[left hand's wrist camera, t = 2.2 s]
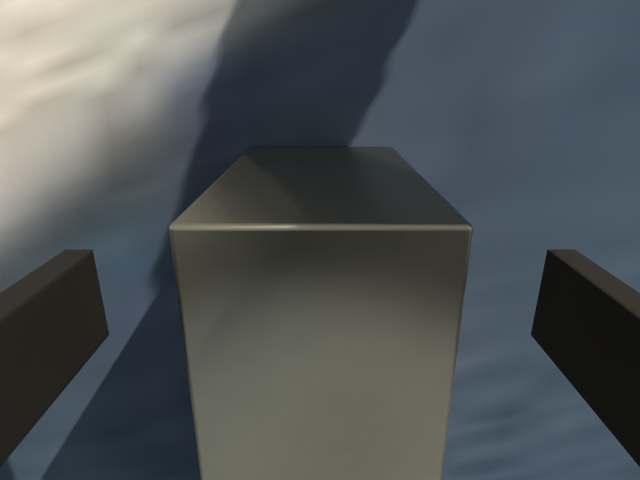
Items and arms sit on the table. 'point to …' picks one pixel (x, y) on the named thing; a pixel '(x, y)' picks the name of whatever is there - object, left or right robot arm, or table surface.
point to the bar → (320, 316)
